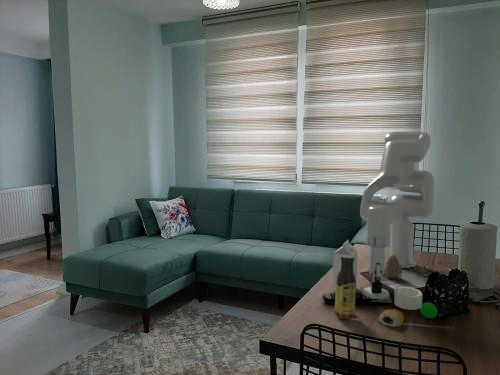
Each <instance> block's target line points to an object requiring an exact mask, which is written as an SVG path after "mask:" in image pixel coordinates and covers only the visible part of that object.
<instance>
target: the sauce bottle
mask: <svg viewBox="0 0 500 375" xmlns="http://www.w3.org/2000/svg"><path fill="white" fill-rule="evenodd" d="M353 262H354V256H352V255H342V256H341V270H340V272H339V273H338V275H337V283H336V292H335V298H334V299H335V300H334V314H335V316H336V318H339V319H342V320H350V319H352V318H353V317H354V316H355V308H356V297H357V296H356V293H357V292H356V290H357V281H356V280H355V276H354V272H353Z"/></svg>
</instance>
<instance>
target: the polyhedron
mask: <svg viewBox="0 0 500 375" xmlns="http://www.w3.org/2000/svg"><path fill="white" fill-rule="evenodd" d="M419 312H420V314H421V316H423V317H424V318H426V319H434V318H436V316H437V314H438V309H437V307H436V306H435V304H433V303H431V302H424V303H422V306H421V308H419Z"/></svg>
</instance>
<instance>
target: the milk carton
mask: <svg viewBox="0 0 500 375" xmlns="http://www.w3.org/2000/svg"><path fill="white" fill-rule="evenodd" d="M342 255H352V256H354V262H353V272H354V276H355V280H356V282H357V279H358V278H357V274H358V273H357V272H358V250H357V249H356V248H355V246H354V245H352V244H351V243H350V242H349V239H347V240H346V241H345V242H344V243H343V244H342V246H341V247H339V248H338V249H337V250H336V251H335V252H333V260H332V261H333V262H332V267H333V268H332V292H334V293H336V283H337V275H338V273H339V272H340V270H341V256H342Z"/></svg>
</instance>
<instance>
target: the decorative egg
mask: <svg viewBox="0 0 500 375" xmlns="http://www.w3.org/2000/svg"><path fill="white" fill-rule="evenodd" d="M387 259H388V260H387V262H386V261H385V264H384V274H385V276H386V278H387V277H389V278H392V279H391V280H393V279H394V280H397V279H398V278H399V277H400V275H401V268H400V264H399V261H398V259H397V257H396V256H394V255H391V256H390V255H389V257H388V258H387ZM389 278H388V279H389ZM396 278H397V279H396Z"/></svg>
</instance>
